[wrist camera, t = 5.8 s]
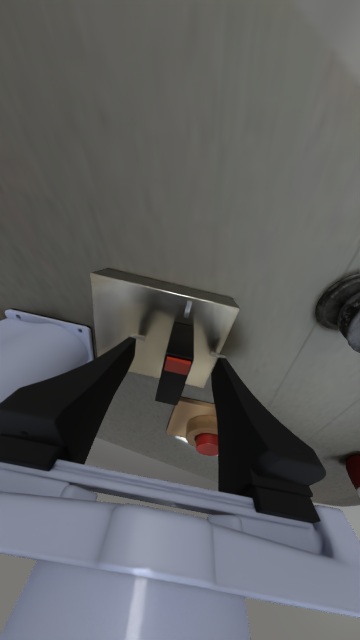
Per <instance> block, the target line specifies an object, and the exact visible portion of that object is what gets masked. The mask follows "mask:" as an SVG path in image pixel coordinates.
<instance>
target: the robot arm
mask: <svg viewBox="0 0 360 640" xmlns="http://www.w3.org/2000/svg"><path fill="white" fill-rule="evenodd" d="M5 314H6V317H7V318H6V319H4V320H1V321H0V554H5V555H11V556H17V557H22V558H27V559H33V560H37V561H36V563H35V565H34V567H33V569H32V571H31V573H30V575H29V577H28V579H27V581H26V583H25V585H24V587H23V589H22V591H21V594H20V595H19V597H18V599H17V601H16V604H15V606H14V608H13V610H12V612H11V614H10V616H9V618H8V620H7V622H6V624H5V626H4V628H3V630H2V632H1V634H0V640H251V638H250V631H249V623H248V618H247V610H246V603H245V598H251V599H257V600H262V601H268V602H274V603H279V604H285V605H290V606H296V607H302V608H307V609H313V610H319V611H324V612H330V613H335V614H341V615H347V616H353V617H358V618H360V541H359V539H358V538H357V536H356V534H355V532H354V531H353V529H352V527H351V525H350V523H349V522H348V520H347V518H346V516H345V515H344V513H343V511H341V510H340V509H336V508H331V507H326V506H320V505H317V506H316V505H315V506H314V505H313V503H312V501H311V499H310V497H313V494H312V492H311V490H310V488H309V486H310V485H312V484H314V483H316V482H318V481H320V480H322V479H323V478H324V477H325V476H326V470H325V469H324V467H323V465H322V464H321V462H320V460H319V458H318V457H317V455H316V453H315V452H314V450H313V449H312V448H311V447H309V446H308V445H307V444H306V443H304V442H303V441H302V440H301V439H299V438H298V437H297V436H295V435H294V434H293V433H292V432H291V431H290V430H288V429H287V428H286V427H285V426H284V425H283V424H282V423H280V422H279V421H278V420H277V419H276V418H275V417H274V416H273V415H272V414H271V413H270V412H269V411H268V410H267V409H266V408H265V407H264V406H263V405H262V404H261V403H260V402H259V401H258V400H257V399H256V398H255V396H254V395H253V394H252V393H251V392H250V391H249V389H248V388H247V387H246V386H245V384H244V383H243V382H242V380H241V379H240V378H239V376H238V375H237V374H236V372H235V371H234V369H233V368H232V366H231V365H230V364H229V362H228V361H227V359H226V358H221V357H219V358H218V360H217V362H216V364H215V367H214V369H213V371H212V373H211V380H212V391H213V397H214V403H215V410H216V417H217V432H218V464H219V485H218V486H219V487H218V490H219V491H214V490H209V489H203V488H198V487H194V486H188V485H184V484H178V483H174V482H168V481H164V480H159V479H153V478H148V477H144V476H139V475H134V474H129V473H123V472H118V471H113V470H108V469H103V468H98V467H93V466H88V465H84V464H85V461H86V459H87V456H88V454H89V451H90V449H91V446H92V444H93V441H94V439H95V437H96V434H97V432H98V430H99V427H100V425H101V423H102V420H103V418H104V416H105V414H106V412H107V409H108V407H109V405H110V403H111V401H112V398H113V396H114V394H115V393H116V391H117V389H118V387H119V386H120V384H121V382H122V380H123V379H124V377H125V375H126V373H127V372H128V370H129V368H130V366H131V364H132V362H133V359H134V357H135V348H136V338H133V337H128V338H126V339H125V340H124V341H122V342H121V343H119V344H118V345H116V346H115V347H113V348H112V349H110V350H109V351H107V352H106V353H104V354H102V355H101V356H99V357H97V358H96V359H94V355H93V346H92V336H91V330H90V328H88V327H86V326H82V325H77V324H73V323H68V322H64V321H60V320H55V319H51V318H47V317H42V316H38V315H34V314H29V313H25V312H20V311H16V310H12V309H9V310H6V311H5ZM91 491H93V492H99V493H104V494H109V495H114V496H119V497H125V498H129V499H134V500H140V501H145V502H150V503H155V504H160V505H165V506H170V507H175V508H181V509H186V510H191V511H196V512H201V513H207V514H211V515H208V517H207V519H205V518H202V517H198V516H194V515H189V514H184V513H179V512H174V511H168V510H163V509H158V508H153V507H148V506H143V505H136V504H119V503H109V502H99V501H96V499H97V494H96V493H93V492H91Z"/></svg>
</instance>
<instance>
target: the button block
mask: <svg viewBox="0 0 360 640" xmlns="http://www.w3.org/2000/svg"><path fill="white" fill-rule="evenodd" d="M201 433H212V434H217V435H218V432H217V417H216V410H215V404H211V403H206V402H202V401H197V400H193V399H188V398H184V397H180V400H179V403H178V405H177V406H176V405H175V406H174V408H173V411H172V414H171V417H170V420H169V423H168V426H167V429H166V434H170V435H175V436H180V437H184V438H186V440H187V441H188V443H189V444H190V445H192V446H194V447H195V448H196V435H198V434H201Z"/></svg>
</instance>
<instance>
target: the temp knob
mask: <svg viewBox="0 0 360 640" xmlns="http://www.w3.org/2000/svg"><path fill="white" fill-rule="evenodd" d="M193 361H194V327H193V326H189V325H184V324H180V323H176V322H174V323H173V327H172V330H171V334H170V338H169V342H168V345H167V349H166V353H165V358H164V362H163V367H162V371H161V376H160V380H159V385H158V389H157V394H156V398H155V401H158V402H163V403H167V404H172V405H176V406H177V405H178V403H179V400H180V397H181V394H182V391H183V389H184V386H185V383H186V380H187V378H188V375H189V372H190V369H191V366H192V364H193Z"/></svg>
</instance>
